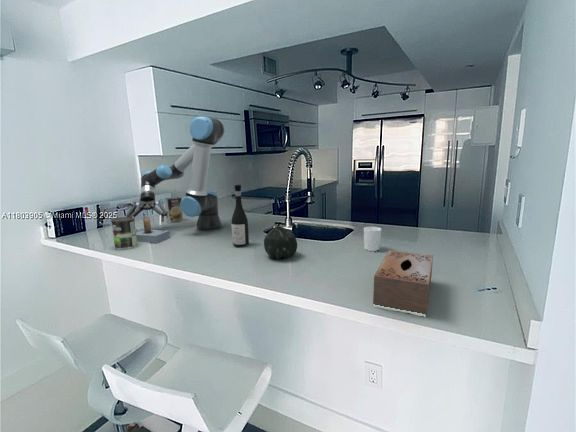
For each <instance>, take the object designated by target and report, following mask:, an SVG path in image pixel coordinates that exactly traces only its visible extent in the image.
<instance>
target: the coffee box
mask: <svg viewBox="0 0 576 432" xmlns="http://www.w3.org/2000/svg"><path fill="white" fill-rule="evenodd" d="M181 200H182V197H165V198H164V204H165V205H164V206H165V207H164V208H165V210H166V212H167V216H165V217H166V222H167V223H169V224H173V223H180V222H183V221H184V216H183V214H184V213H183V211H182V210H181V207H180V202H181Z"/></svg>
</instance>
